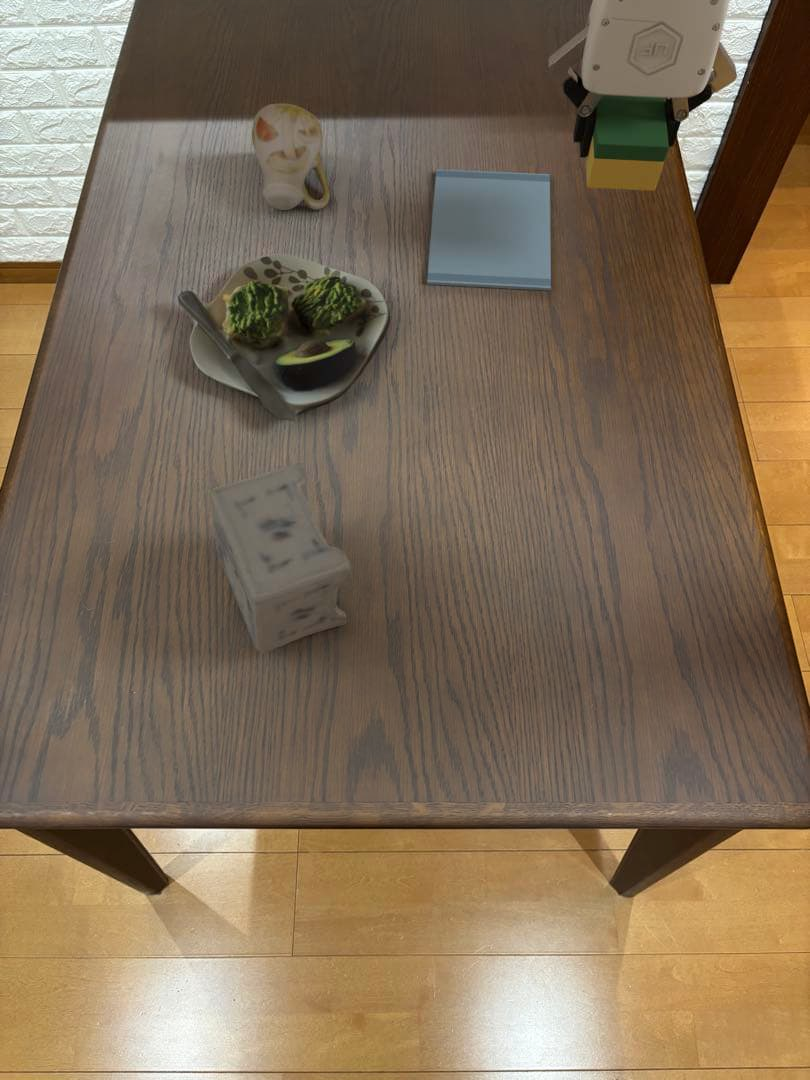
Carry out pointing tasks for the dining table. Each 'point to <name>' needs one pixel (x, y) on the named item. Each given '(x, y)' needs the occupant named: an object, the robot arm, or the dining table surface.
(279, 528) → the incense holder
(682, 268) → the dining table surface
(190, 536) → the dining table surface
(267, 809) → the dining table surface
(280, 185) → the mug
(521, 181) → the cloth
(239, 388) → the salad plate
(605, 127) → the scrubber
